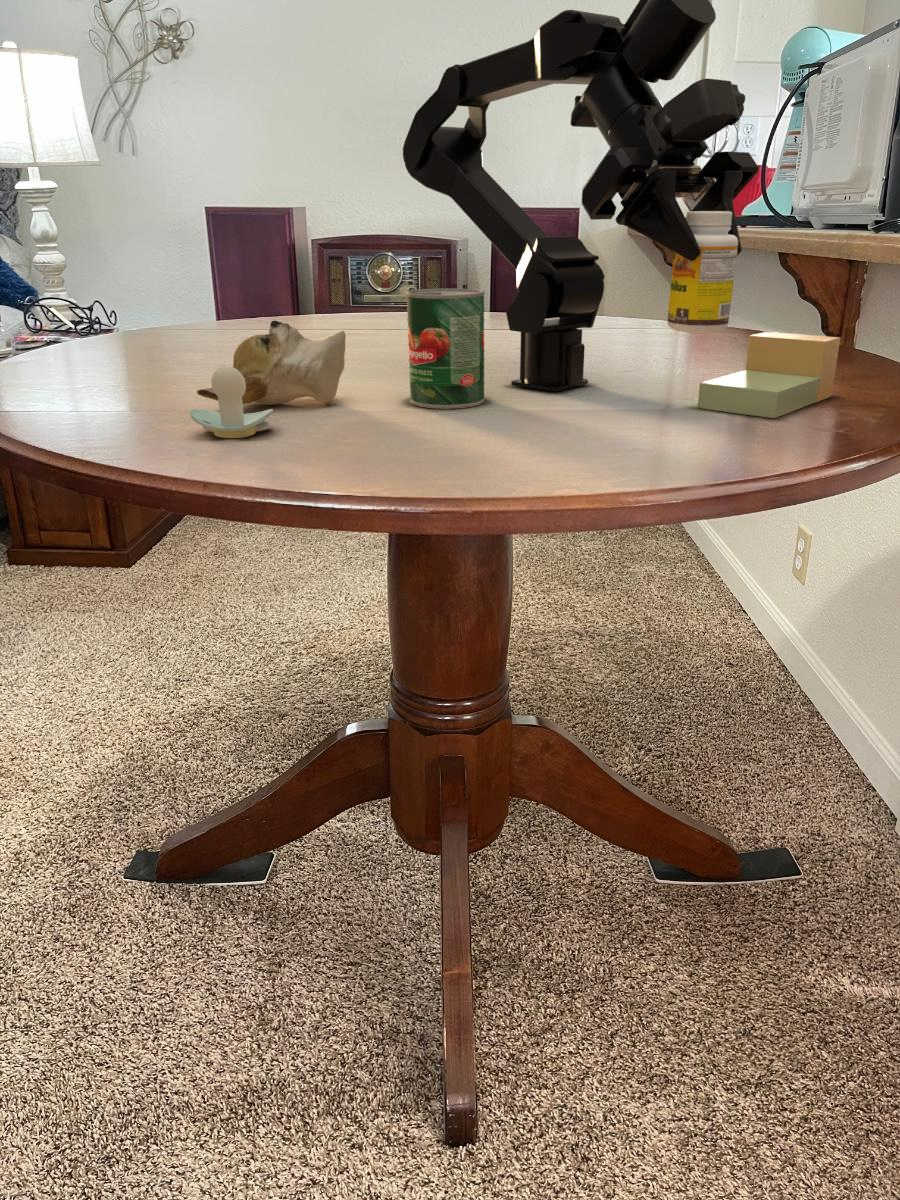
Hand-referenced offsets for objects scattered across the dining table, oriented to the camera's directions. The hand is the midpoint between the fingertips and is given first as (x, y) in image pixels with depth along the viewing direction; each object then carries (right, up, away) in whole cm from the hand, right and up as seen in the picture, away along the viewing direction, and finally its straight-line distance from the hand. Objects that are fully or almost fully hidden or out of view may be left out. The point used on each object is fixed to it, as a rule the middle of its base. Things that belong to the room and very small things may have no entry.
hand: (716, 256), depth 80 cm
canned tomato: (-24, -10, +14) cm, 30 cm away
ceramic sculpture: (-42, -10, +14) cm, 45 cm away
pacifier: (-44, -16, +1) cm, 46 cm away
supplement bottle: (-1, -6, +4) cm, 7 cm away
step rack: (+9, -10, +12) cm, 18 cm away
